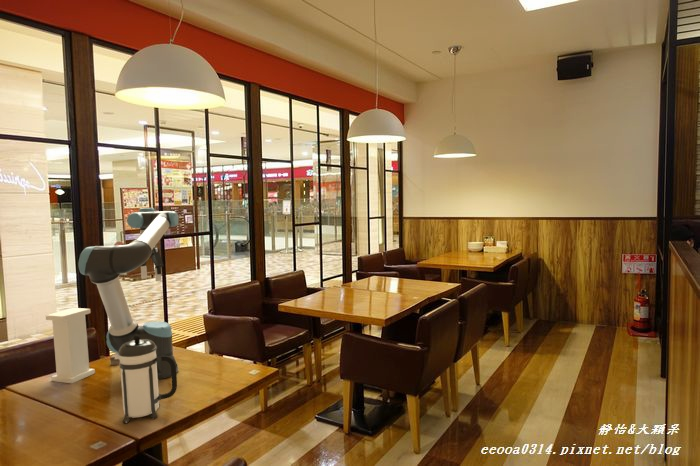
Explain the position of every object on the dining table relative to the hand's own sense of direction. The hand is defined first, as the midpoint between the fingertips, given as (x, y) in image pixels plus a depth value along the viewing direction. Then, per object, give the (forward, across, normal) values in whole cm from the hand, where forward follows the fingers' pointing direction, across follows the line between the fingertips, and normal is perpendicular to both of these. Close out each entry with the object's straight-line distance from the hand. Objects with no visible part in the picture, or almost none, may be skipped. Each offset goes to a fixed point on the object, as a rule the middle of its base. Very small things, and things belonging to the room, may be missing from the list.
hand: (151, 279), depth 234 cm
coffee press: (+39, +61, -39) cm, 82 cm away
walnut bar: (+39, -10, -10) cm, 42 cm away
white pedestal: (+39, -3, -38) cm, 55 cm away
